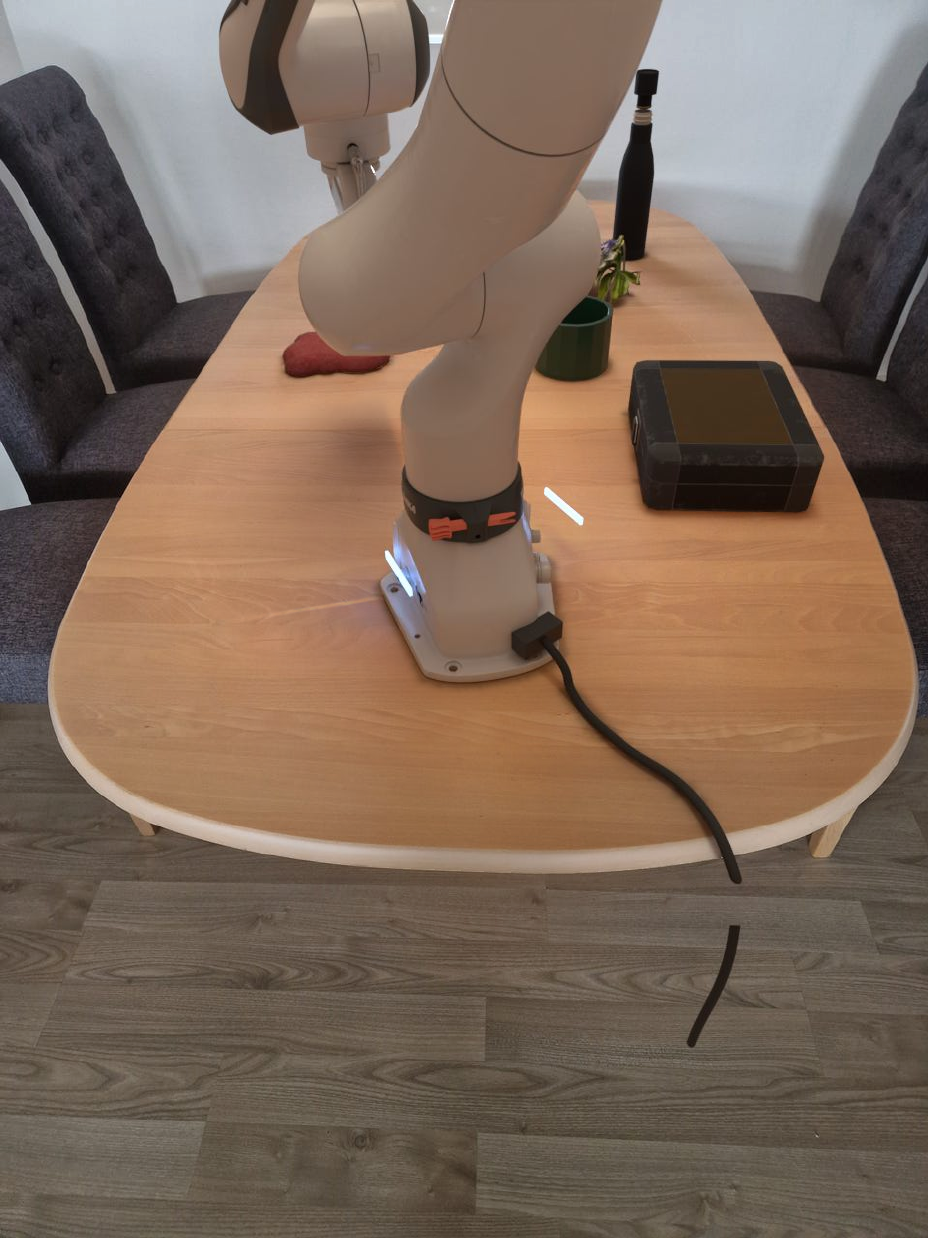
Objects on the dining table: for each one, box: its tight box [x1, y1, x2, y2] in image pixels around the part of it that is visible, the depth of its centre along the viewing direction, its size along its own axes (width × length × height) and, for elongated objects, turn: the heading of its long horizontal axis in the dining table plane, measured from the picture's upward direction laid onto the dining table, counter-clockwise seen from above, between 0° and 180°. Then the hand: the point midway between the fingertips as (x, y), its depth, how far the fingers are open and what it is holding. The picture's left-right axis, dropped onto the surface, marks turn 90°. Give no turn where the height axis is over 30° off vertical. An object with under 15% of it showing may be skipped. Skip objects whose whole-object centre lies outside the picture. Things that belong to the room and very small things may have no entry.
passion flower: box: [594, 235, 643, 305], centre depth 141 cm, size 11×11×12 cm
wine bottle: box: [612, 68, 660, 261], centre depth 147 cm, size 6×6×30 cm
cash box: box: [627, 359, 825, 514], centre depth 102 cm, size 25×20×8 cm
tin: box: [534, 294, 614, 382], centre depth 122 cm, size 11×11×8 cm
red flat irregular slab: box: [282, 331, 391, 377], centre depth 128 cm, size 18×14×2 cm
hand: (362, 268), depth 94 cm, fingers closed on lid, 2 cm apart
